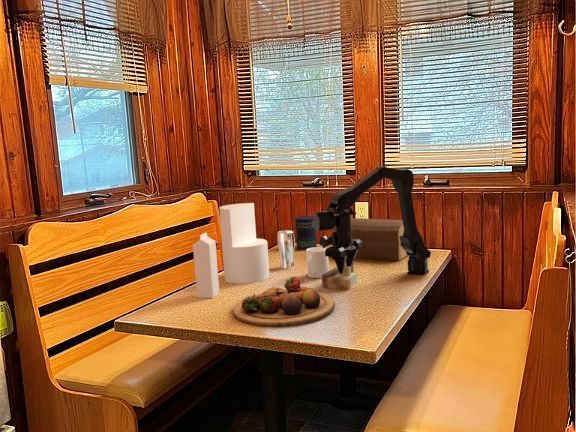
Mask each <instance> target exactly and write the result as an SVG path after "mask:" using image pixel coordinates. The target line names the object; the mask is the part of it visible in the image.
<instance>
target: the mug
mask: <svg viewBox="0 0 576 432" xmlns="http://www.w3.org/2000/svg"><path fill="white" fill-rule="evenodd" d="M327 248H328V247H325V248H323V247H322V246H317V247H313V248H308V249H306V250H305V253H306V256H305V257H306V271H307V277H309V278H312V279H322V275H323V274H325V273H326V272H328V271H330V266H329V262H330V261H329V256H325V250H326V249H327Z"/></svg>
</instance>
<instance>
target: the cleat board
mask: <svg viewBox="0 0 576 432" xmlns="http://www.w3.org/2000/svg"><path fill="white" fill-rule="evenodd" d="M345 266H346V262H345ZM351 273H355V272H354V262H353V263H352V266H351ZM337 274H339V271H338V268H337V266H336V267H334V268H332V269H331V270H330V269H329V271H328V272H326V273H325V274H323V275H322V278H321V283H322V284H321V285H322V288H327V289H336V290H347V291H349V290H351V287H352V286H351V281H350V279H349V278H339V277H333V276H335V275H337Z"/></svg>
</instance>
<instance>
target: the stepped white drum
mask: <svg viewBox="0 0 576 432" xmlns="http://www.w3.org/2000/svg"><path fill="white" fill-rule="evenodd" d="M219 221H220V231H221V233H220V234H221V247H222V248H221V249H222V257H223V259H222V260H223V261H222V262H223V271H224V273H223V274H224V280H225V282H227V283H229V284H237V285H238V284H241V285H242V284H244V285H245V284H254V283H259V282H262V281H266V280H268V279H269V278H270V265H269V262H270V261H269V249H268V247H269V246H268V241H267V240H266V239H264V238H257V230H256V229H257V228H256V226H257V225H256V216H255V203H254V202H247V203H246V202H245V203H244V202H243V203H242V202H241V203H234V204H226V205H221V206H219ZM267 278H268V279H267Z"/></svg>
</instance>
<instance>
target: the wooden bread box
mask: <svg viewBox="0 0 576 432" xmlns="http://www.w3.org/2000/svg"><path fill="white" fill-rule="evenodd" d="M351 230H353V232H354V233H352V234H351V235H352V239H360V240H361V241H362V247H360V248H357V246H354V247H355V249H359V250H358V252H357V254H356V256H355V258H356V259H367V260H368V259H369V260H382V261H396V262H397V261H401V260H403V259H405V258H406V257H409V255H407V254H406V251H405V250H403V248H402V246H400V245H401V241H400V238H399V236H403V233H404V226H403V220H402V219H385V218H384V219H379V218H359V217H357V218H356V217H355V218H353V217H351ZM334 231H335V227H333V231H332V233H333V232H334ZM335 247H337V246H335Z"/></svg>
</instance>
